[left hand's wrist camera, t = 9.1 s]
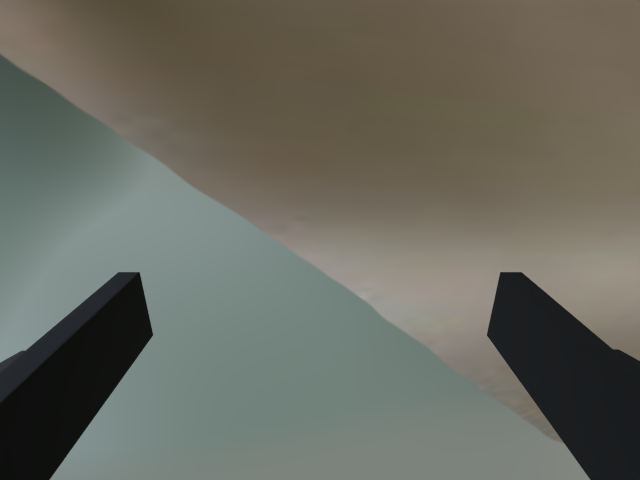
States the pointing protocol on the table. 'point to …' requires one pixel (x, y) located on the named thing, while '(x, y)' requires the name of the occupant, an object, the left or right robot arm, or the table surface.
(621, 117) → the table surface
